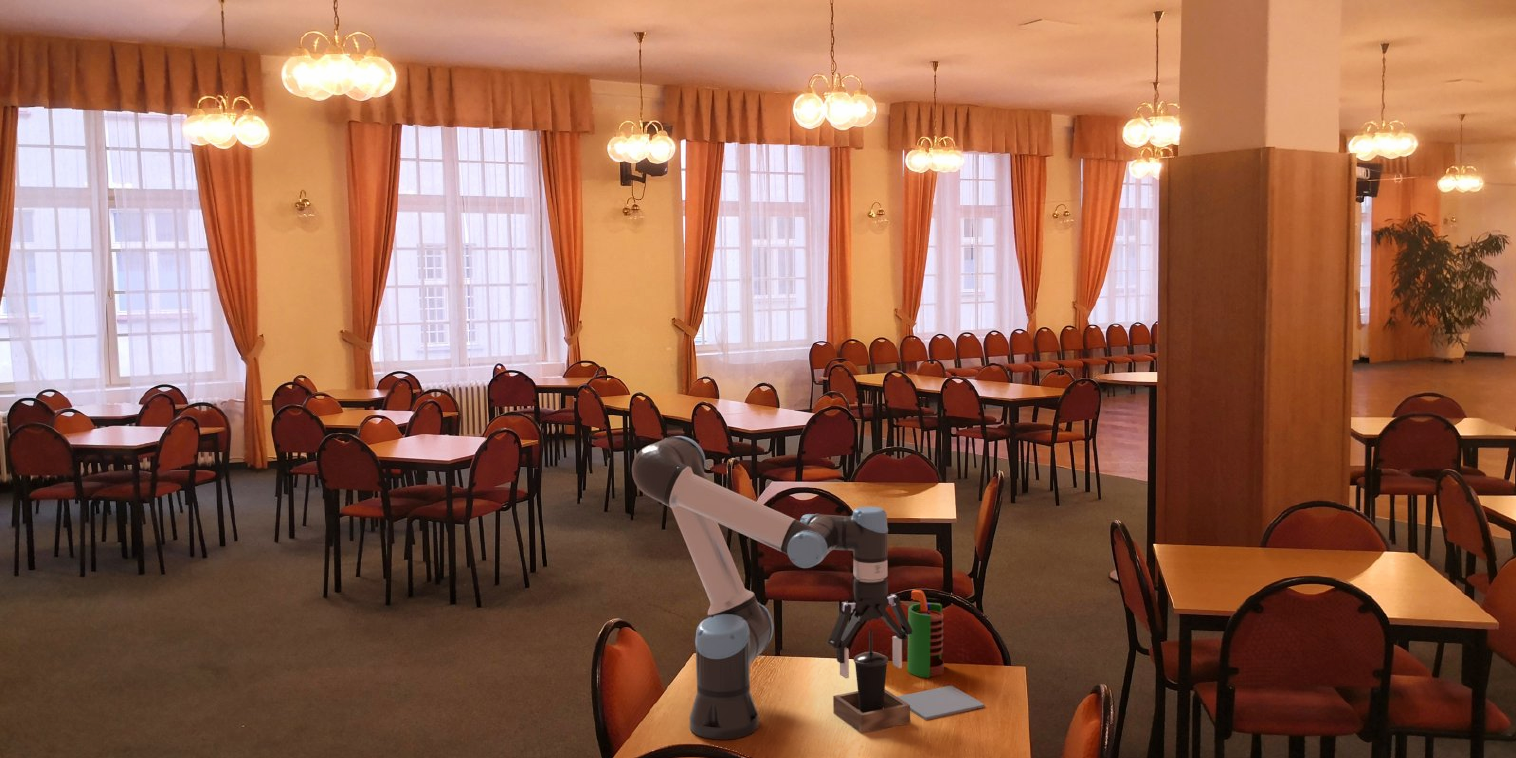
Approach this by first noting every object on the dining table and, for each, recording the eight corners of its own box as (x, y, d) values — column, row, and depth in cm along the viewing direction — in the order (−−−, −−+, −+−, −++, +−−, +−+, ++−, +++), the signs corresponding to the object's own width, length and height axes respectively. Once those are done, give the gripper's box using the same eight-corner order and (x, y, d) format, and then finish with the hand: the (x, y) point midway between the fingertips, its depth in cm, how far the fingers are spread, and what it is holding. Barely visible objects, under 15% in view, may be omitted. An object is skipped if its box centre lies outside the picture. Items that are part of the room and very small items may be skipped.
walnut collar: (861, 733, 241) (861, 715, 240) (833, 713, 252) (833, 695, 252) (910, 722, 246) (910, 705, 246) (880, 703, 257) (880, 686, 257)
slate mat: (925, 720, 247) (925, 717, 247) (894, 699, 259) (894, 697, 259) (984, 706, 254) (984, 704, 254) (951, 687, 266) (951, 685, 266)
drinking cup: (850, 722, 247) (850, 634, 244) (857, 709, 254) (857, 624, 252) (885, 726, 244) (884, 637, 242) (891, 712, 252) (890, 626, 250)
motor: (943, 678, 272) (943, 598, 270) (906, 676, 273) (905, 597, 271) (944, 664, 282) (944, 586, 280) (908, 662, 283) (908, 585, 281)
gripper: (829, 589, 237) (829, 686, 239) (927, 574, 248) (927, 667, 250) (812, 581, 244) (813, 675, 246) (909, 566, 254) (909, 656, 257)
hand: (871, 671), depth 248 cm, fingers open, 13 cm apart
